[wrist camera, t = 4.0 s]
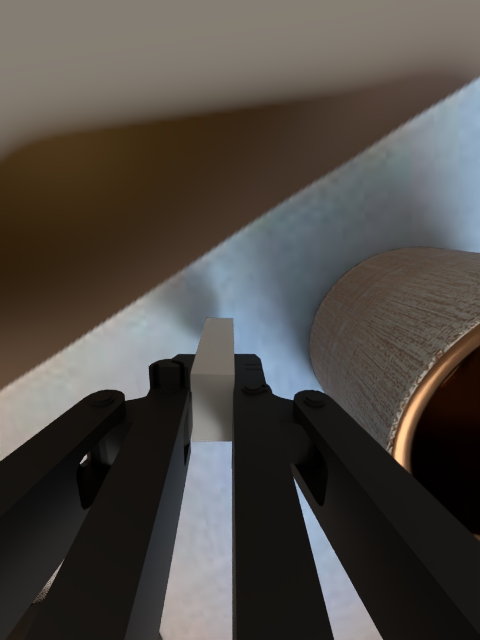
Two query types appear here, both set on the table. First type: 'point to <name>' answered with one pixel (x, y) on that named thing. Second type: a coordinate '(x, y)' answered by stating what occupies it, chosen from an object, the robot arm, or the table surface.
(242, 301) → the table surface
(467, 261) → the planter
